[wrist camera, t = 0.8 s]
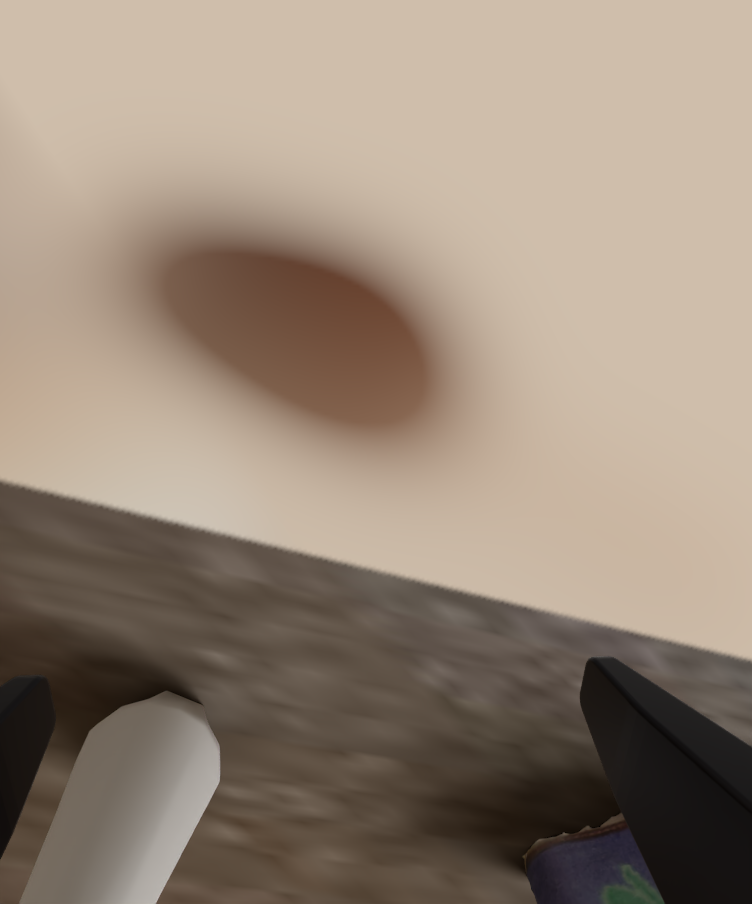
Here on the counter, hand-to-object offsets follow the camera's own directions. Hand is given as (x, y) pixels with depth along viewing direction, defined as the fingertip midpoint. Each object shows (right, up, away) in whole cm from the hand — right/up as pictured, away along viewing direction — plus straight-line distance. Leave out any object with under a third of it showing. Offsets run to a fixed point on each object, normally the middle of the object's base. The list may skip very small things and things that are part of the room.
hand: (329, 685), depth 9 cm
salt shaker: (-9, -9, +16) cm, 20 cm away
